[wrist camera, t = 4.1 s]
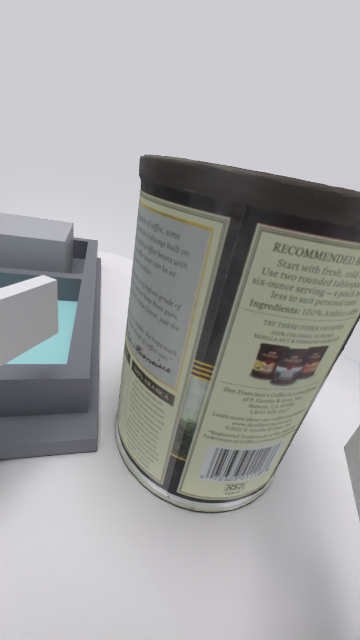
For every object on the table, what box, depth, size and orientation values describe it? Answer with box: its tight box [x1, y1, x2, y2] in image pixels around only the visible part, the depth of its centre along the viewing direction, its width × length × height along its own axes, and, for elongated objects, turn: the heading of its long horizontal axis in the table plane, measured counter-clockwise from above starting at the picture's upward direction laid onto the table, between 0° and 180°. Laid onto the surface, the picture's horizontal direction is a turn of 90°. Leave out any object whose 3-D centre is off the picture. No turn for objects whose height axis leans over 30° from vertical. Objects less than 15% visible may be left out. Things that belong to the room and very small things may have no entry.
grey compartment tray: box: [0, 213, 101, 460], centre depth 24 cm, size 16×30×6 cm, turn 14°
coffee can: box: [115, 155, 360, 512], centre depth 14 cm, size 10×10×14 cm
